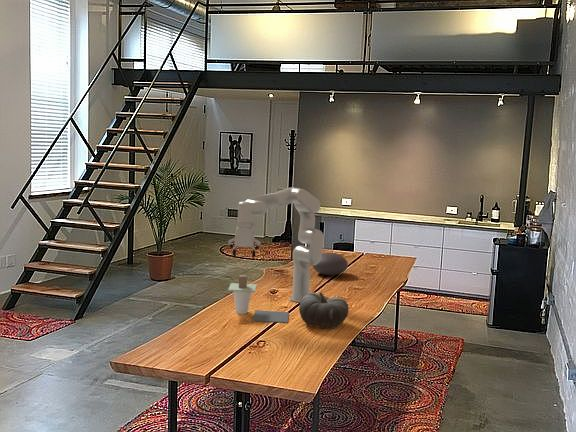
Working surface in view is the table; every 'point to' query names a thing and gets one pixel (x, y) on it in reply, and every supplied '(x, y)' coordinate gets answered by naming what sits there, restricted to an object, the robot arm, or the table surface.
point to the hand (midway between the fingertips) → (243, 257)
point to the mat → (271, 316)
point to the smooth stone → (331, 264)
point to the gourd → (323, 310)
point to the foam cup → (241, 301)
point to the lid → (242, 285)
